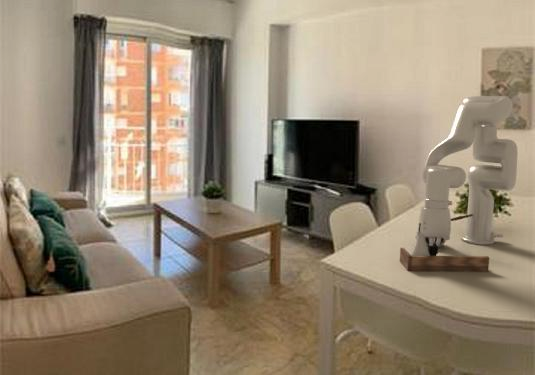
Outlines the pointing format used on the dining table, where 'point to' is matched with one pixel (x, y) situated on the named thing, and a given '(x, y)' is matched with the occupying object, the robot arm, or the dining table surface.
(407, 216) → the dining table surface
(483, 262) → the wooden block
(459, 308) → the dining table surface
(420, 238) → the flask
